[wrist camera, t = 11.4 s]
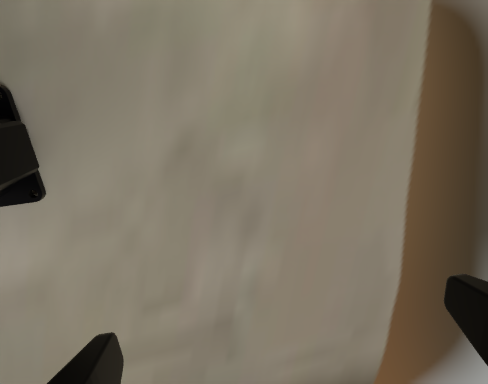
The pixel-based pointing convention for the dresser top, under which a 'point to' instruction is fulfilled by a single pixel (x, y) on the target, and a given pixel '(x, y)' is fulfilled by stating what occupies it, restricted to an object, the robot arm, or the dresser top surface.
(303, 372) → the dresser top surface
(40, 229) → the dresser top surface
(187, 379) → the dresser top surface
